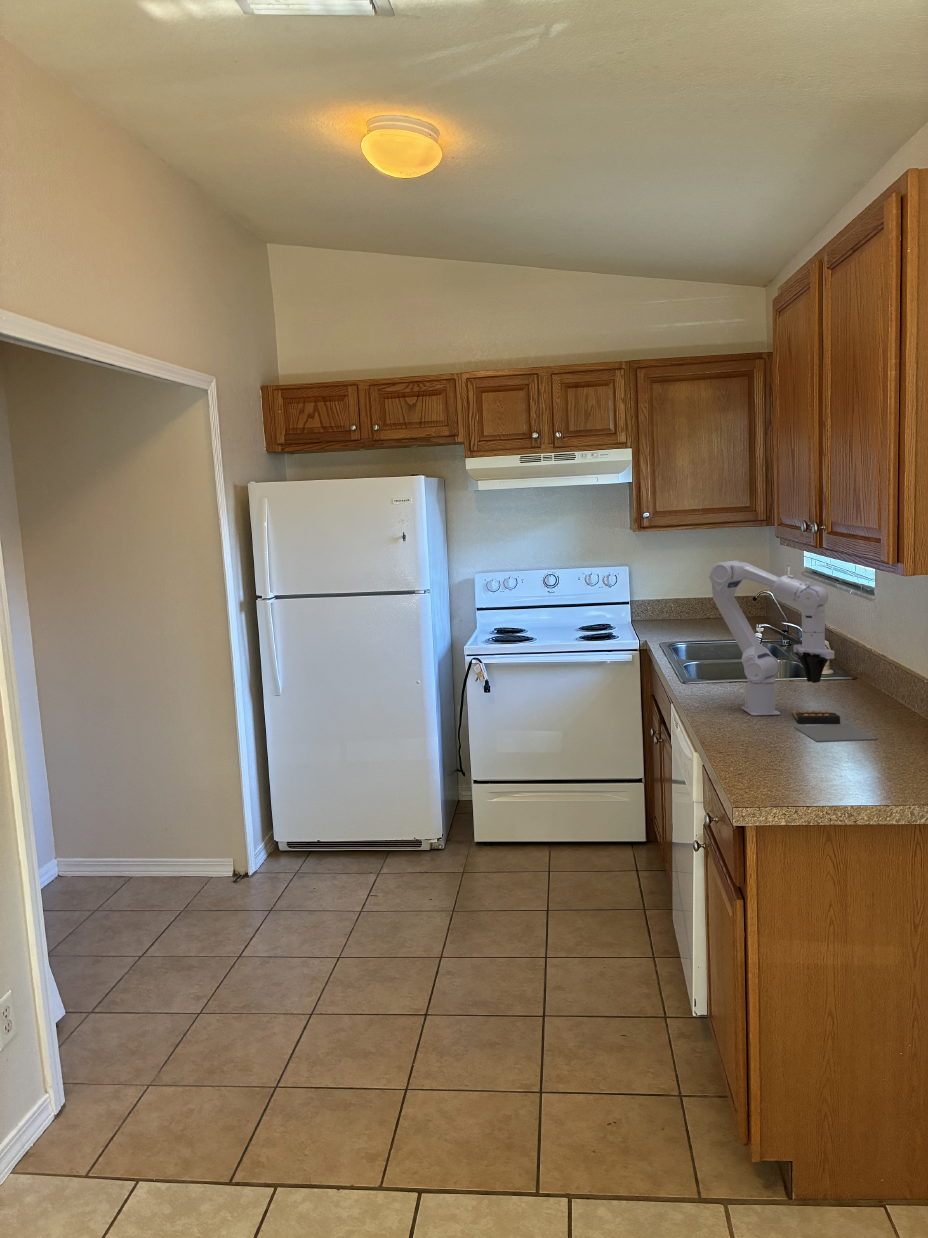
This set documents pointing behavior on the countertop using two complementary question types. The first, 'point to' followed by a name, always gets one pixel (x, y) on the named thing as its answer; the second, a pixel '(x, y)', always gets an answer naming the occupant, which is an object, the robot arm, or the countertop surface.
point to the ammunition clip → (816, 717)
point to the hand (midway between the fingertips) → (813, 681)
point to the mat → (834, 733)
